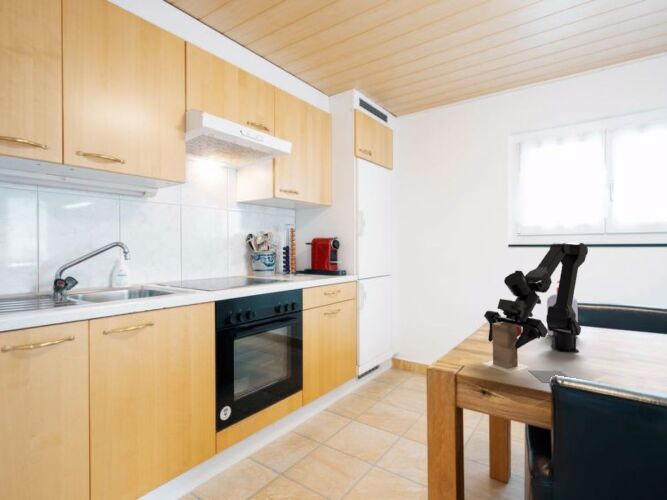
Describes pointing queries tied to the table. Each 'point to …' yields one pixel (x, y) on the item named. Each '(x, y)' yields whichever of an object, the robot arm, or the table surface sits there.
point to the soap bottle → (552, 301)
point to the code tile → (510, 370)
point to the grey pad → (546, 375)
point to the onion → (519, 331)
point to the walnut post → (504, 344)
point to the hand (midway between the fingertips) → (502, 344)
